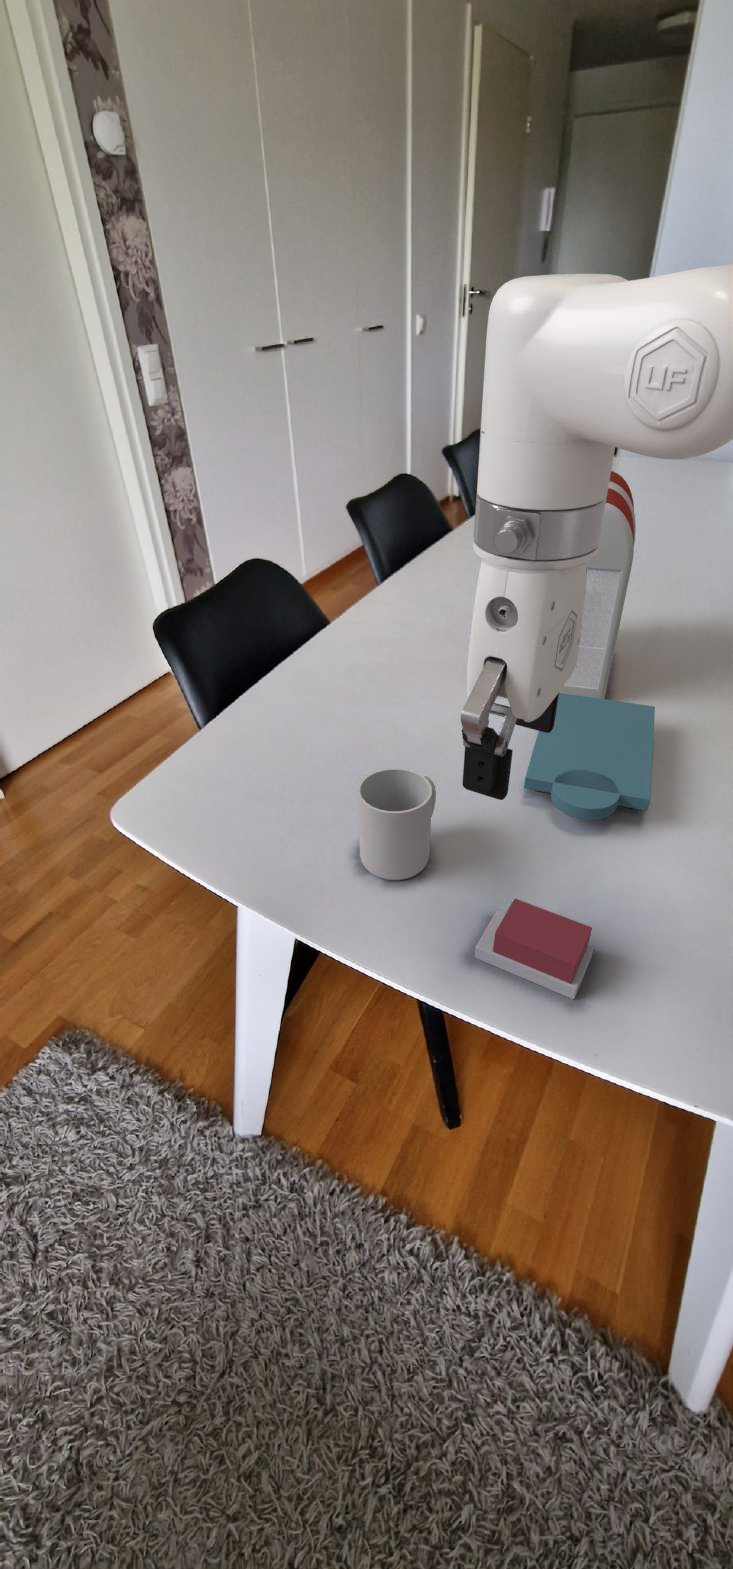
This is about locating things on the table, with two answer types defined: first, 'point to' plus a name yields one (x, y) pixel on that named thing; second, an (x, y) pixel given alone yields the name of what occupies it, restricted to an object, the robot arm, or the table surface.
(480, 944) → the maroon block on base
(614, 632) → the red-striped rounded block
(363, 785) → the cup
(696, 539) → the table surface
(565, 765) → the board
